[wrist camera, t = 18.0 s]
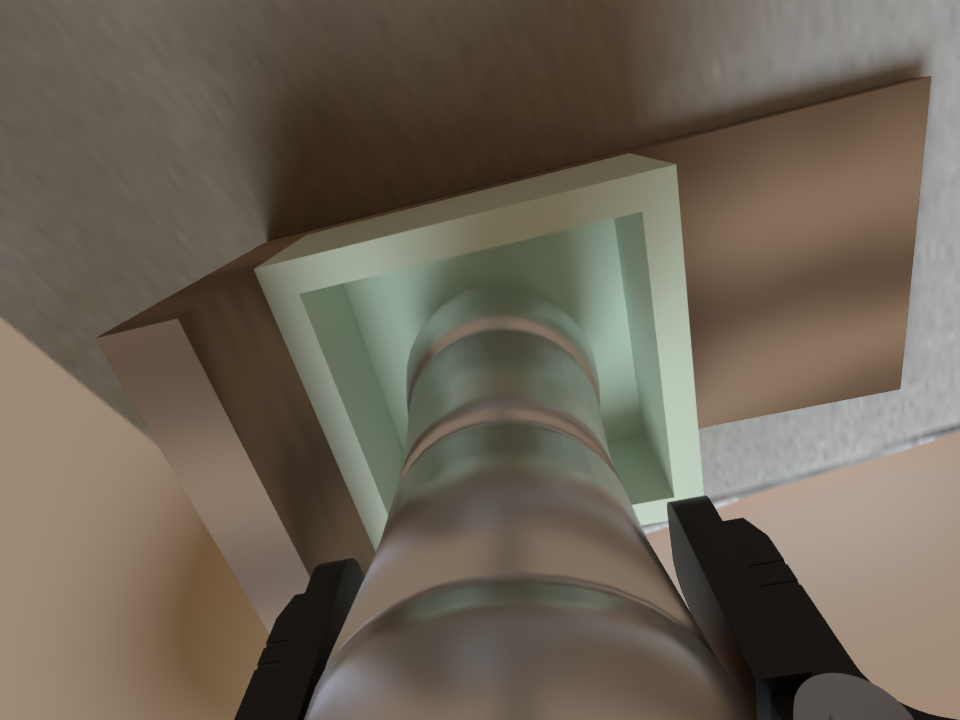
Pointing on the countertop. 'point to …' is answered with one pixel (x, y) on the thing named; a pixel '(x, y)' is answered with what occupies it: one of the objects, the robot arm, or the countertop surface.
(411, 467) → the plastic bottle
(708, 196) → the backstop
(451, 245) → the socket block
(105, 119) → the countertop surface
